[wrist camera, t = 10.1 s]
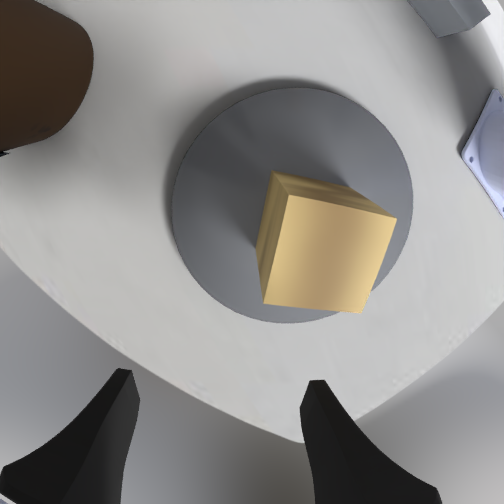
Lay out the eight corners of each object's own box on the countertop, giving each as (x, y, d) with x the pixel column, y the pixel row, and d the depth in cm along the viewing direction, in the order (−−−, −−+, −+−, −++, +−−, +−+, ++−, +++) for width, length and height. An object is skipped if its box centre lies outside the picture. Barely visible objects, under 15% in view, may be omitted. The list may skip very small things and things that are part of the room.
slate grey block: (459, 21, 12) (490, 13, 9) (436, 38, 13) (469, 29, 10) (428, -18, 11) (456, -32, 7) (402, -4, 12) (431, -21, 8)
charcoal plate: (440, 184, 18) (447, 188, 17) (319, 341, 23) (322, 349, 22) (259, 42, 14) (260, 38, 13) (137, 254, 19) (133, 261, 18)
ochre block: (350, 187, 17) (397, 218, 12) (329, 259, 19) (361, 313, 14) (271, 170, 16) (288, 194, 11) (255, 248, 18) (263, 303, 13)
